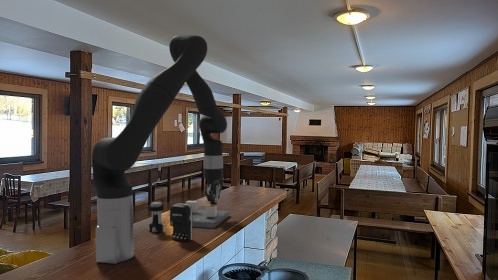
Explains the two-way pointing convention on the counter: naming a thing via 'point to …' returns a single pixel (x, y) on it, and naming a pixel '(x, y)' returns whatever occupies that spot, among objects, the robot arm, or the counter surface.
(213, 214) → the handle
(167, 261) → the counter surface
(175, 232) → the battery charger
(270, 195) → the counter surface
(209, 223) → the breaker board
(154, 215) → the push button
